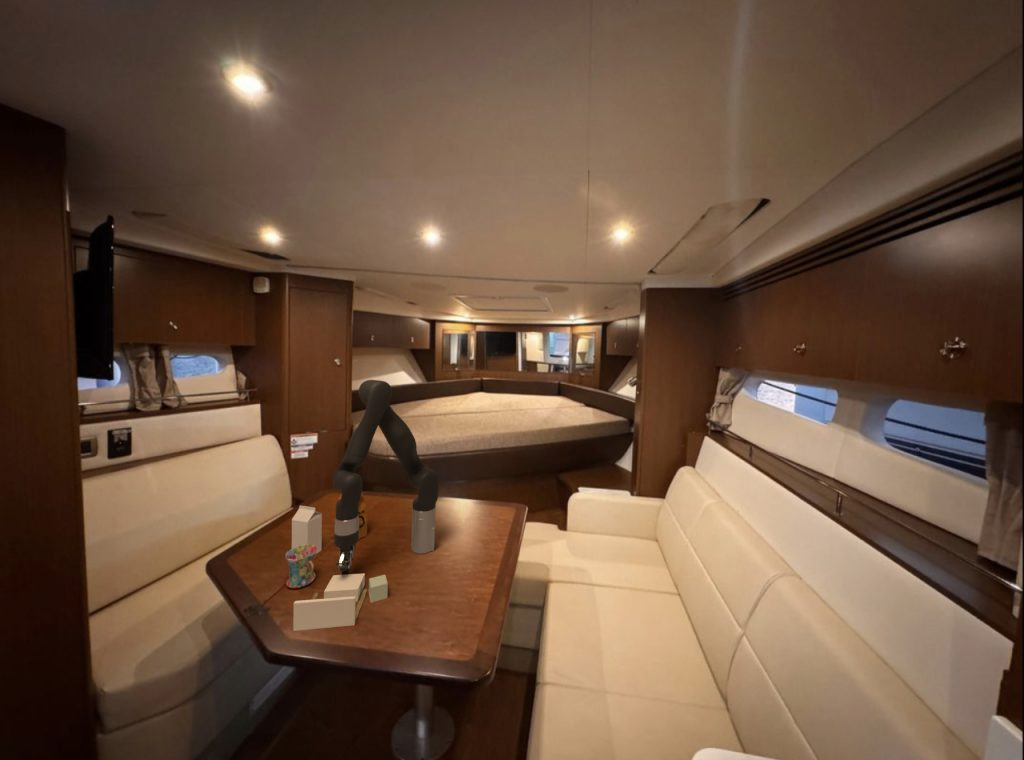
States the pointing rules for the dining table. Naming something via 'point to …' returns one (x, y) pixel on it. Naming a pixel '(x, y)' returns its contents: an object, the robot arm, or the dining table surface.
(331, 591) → the carton
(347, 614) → the backdrop
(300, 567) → the mug
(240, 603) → the dining table surface
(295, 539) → the milk carton
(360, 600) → the frame
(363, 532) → the coffee package
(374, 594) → the green box
